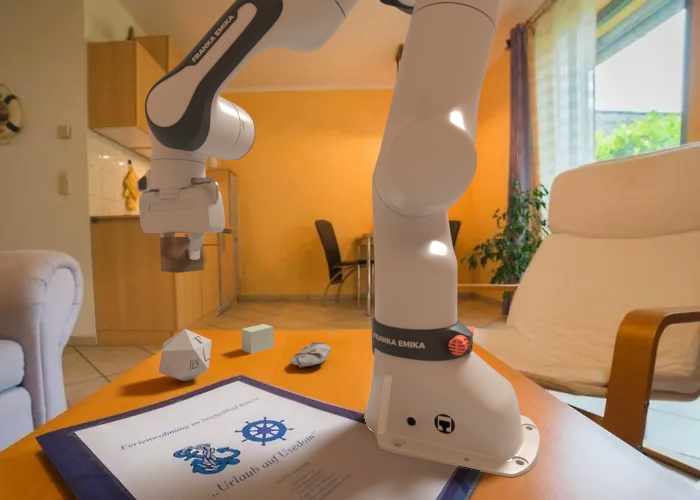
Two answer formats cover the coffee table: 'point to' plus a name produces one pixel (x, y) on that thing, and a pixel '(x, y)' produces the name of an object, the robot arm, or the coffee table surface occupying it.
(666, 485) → the coffee table surface
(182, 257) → the walnut block
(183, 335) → the die
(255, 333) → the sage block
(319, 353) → the stone
